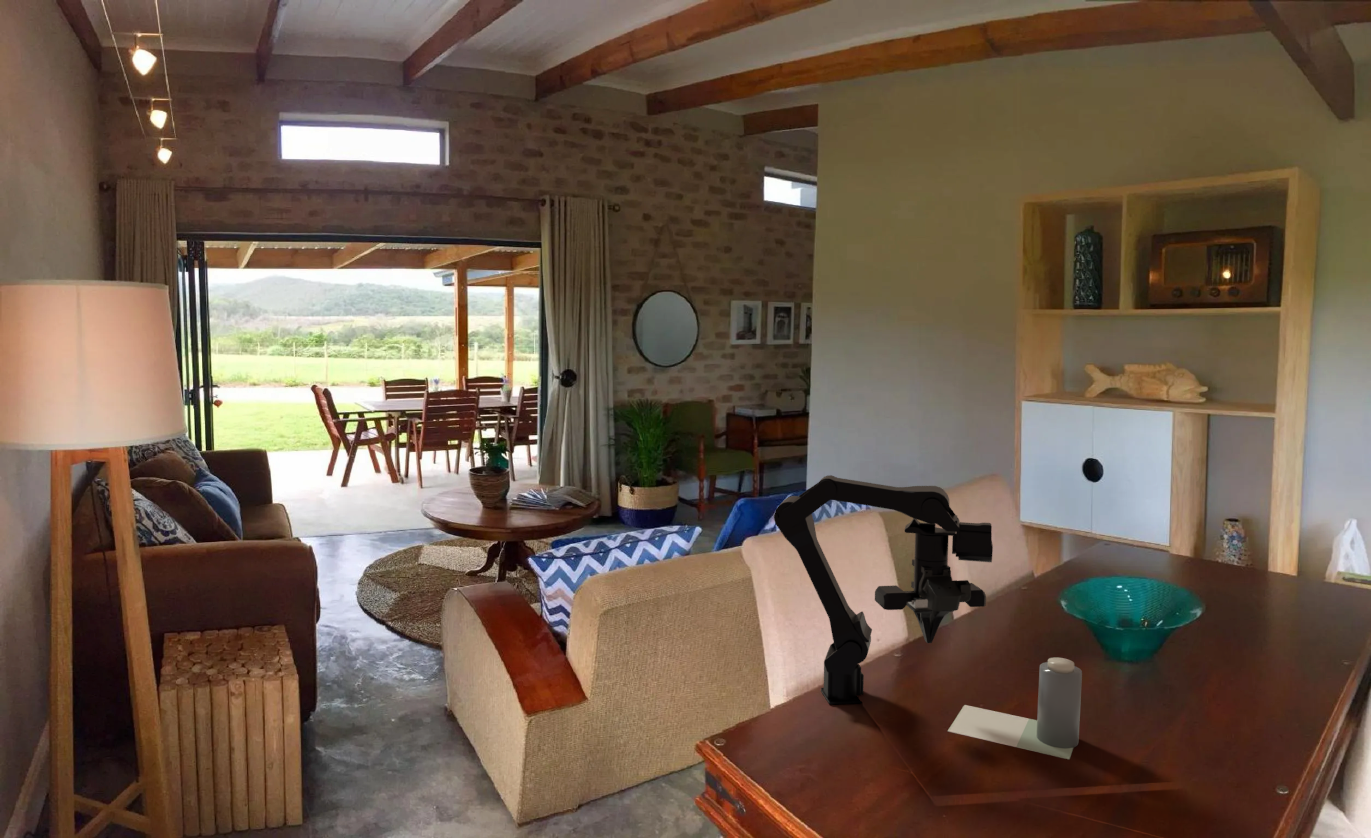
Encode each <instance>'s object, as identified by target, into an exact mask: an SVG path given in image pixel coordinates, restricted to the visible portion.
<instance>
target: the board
mask: <svg viewBox="0 0 1371 838" xmlns="http://www.w3.org/2000/svg"><path fill="white" fill-rule="evenodd" d="M947 732H949V733H953V734H956V735H957V734H958V735H960V736H961V735H962V736H966V737H971V738H973V739H980V740H984V741H986V742H987V741H988V742H992V743H997V744H1001V745H1006V746H1009V747H1014V748H1018V749H1023V750H1027V751H1032V752H1036V753H1040V754H1043V755H1048V756H1053V757H1056V758H1061V759H1065V760H1066V759H1067V760H1070V759H1071V756H1072V753H1073V750H1074V747H1073V748H1057V747H1052V746H1049V745H1046V744H1044V743H1042V742H1041V741H1039V740H1038V738H1037V719H1033V718H1027V717H1023V716H1018V715H1014V714H1013V715H1012V714H1009V713H1005V712H1000V711H996V710H995V711H994V710H990V709H986V708H981V707H977V706H971V705H967V704H964V705H963V706H962V708H961V710H960V711H959V712H958V714H957V716H956V717H955V719H954V721H953V722H952V724H951V725H950V727H949V728H948V730H947Z"/></svg>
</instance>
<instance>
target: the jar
mask: <svg viewBox="0 0 1371 838" xmlns="http://www.w3.org/2000/svg"><path fill="white" fill-rule="evenodd" d="M1038 675H1039V676H1038V694H1037V695H1038V697H1037V718H1036V720H1037V738H1038V740H1039V741H1041V742H1042V743H1044V744H1046V745H1049V746H1052V747H1057V748H1073V749H1074V748H1077V746H1078V745H1079V742H1080V741H1079V739H1080V722H1081V721H1080V719H1081V718H1080V717H1081V702H1082V701H1081V700H1082V698H1081V697H1082V684H1083V683H1082V682H1083V680H1082V679H1083V671H1082V669H1081V668H1079V667H1077V666H1075V662H1074V661H1072V660H1070V659H1067V658H1065V657H1064V658H1063V657H1049V658H1048V659H1047V661H1046V662H1042V663H1041V664H1039V674H1038Z"/></svg>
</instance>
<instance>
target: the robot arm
mask: <svg viewBox="0 0 1371 838" xmlns="http://www.w3.org/2000/svg"><path fill="white" fill-rule="evenodd" d="M831 500H832V501H837V502H845V503H850V504H856V505H861V506H868V507H874V508H878V509H879V508H880V509H886V510H893V511H897V512H899V513H901V514H902V515H905V516H908V517H910V518H912V520H910V522H909V523H907V524H906V525H905V526H904V529H903V530H904V533H906V534H915V535H914V558H912V559H911V566H912V567H913V581H911V587H910V588H912V589H913V590H902V589H901V588H900V587H899V586H898V585H878V586H877V588H876V589H875V591H874V601H875V602H876V603H877V604H878V605H879V606H880V607H881V608H882V609H883V610H886V611H899V610H903V609H904V608H906V607H908V608H909V609H910V610H911V611H912V612H913V614H914V615H915V617H916V620H917V622H918V625H919V627H920V631H921V633H922V636H923V638H924V641H925V642H926V643H927V644H932V643H933V641H934V638H935V636H936V634H937V631H938V629H939V626H940V624H941V622H942V621H943V619H944V617H945V616H947V614H949V613H953V612H956V611H958V610H959V608H960V607H959V606H960V604H961V603H965V604H966V605H967V606H968V607H969V608H978V607H979V608H981V607H982V608H983V607H985V606H986V604H987V595H986V593H985V591H984V590H983V589H982V588H980V587H978V586H977V585H976V584H974V583H972V582H970V580H968V579H963V580H953V577H952V571H951V566H949V565H948V563H949V562H948V561H949V536H950V537H952V538H951V539H952V543H951V547H952V548H951V554H952V555H955V557H957V558H958V561H966V562H979V563H980V562H981V563H982V562H983V563H992V562H993V551H994V550H993V549H994V548H993V547H994V546H993V540H992V527H993V526H992V523H990V522H980V523H979V522H976V523H975V522H962V521H960V519H959V517H958V515H957V514H956V513H955V512H954V510H953V509H952V507H951V505H950V498H949V495H948V493H947V492H946V490H944V488H942V487H940V486H936V485H913V486H911V485H910V486H902V487H901V486H899V487H897V486H892V485H886V484H885V485H884V484H879V483H873V482H868V481H860V480H854V479H850V478H849V479H847V478H841V477H837V476H834V475H831V474H830V475H829V474H828V475H826V476H823V477H822V478H821V479H820V480H819V481H818V482H816V483H815V484H814V485H812V486H810V488H808V489H807V490H805V491H804V492H802V493H801V494H800V495H791V496H788V497H786V498H785V499H784V500H782V502H781V503H780V504H779V505H778V506H777V508H776V509H775V511H774V514H773V520H774V523H775V525H776V527H777V528H778V529H779V531H780V533H781V534H782V535H783V537H784V538H785V540H786V541H787V542H788V543H789V544H790V545H791V546H792V547H793V548H794V549H795V550H796V552H797V554H798V557H799V558H800V560H801V562H802V564H803V566H804V568H805V571H806V573H807V576H809V579H810V581H811V584H812V585H813V587H814V590H815V591H816V594H817V596H818V598H819V600H820V602H821V605H822V606H823V608H824V610H825V614H826V615H827V617H828V620H829V624H830V630H831V637H832V640H833V642H832V643H831V644H830V645H829V648H828V650H827V653H826V655H825V658H824V661H823V687H821V688H820V692H821V693H822V695H823V697H824V698H825V699H826V701H827V703H828V704H829V705H846V704H848V705H849V704H862V703H863V702H862V700H861V699H860V698H859V696H862V695H864V680H865V677H864V674H863V672H862V666H861V665H860V664H862V663H863V662H864V661H865V660H866V658H867V657H868V654H869V650H870V647H871V643H872V636H871V635H872V631H873V629H872V628H871V627H870V626H869V624H868V622H867V620H866V617H865V614H864V611H859V613H856V612H854V610H853V609H852V608H851V607H850V605H849V603H848V602H847V599H846V597H845V595H844V593H843V590H842V589H841V587H840V584H839V583H838V581H837V578H836V577H835V575H834V573H833V570H832V568H831V565H830V564H829V562H828V560H827V558H826V554H825V553H824V551H823V549H822V546H821V545H820V543H819V541H818V537H817V532H816V526H815V521H814V518H813V514H814V513H815V512H816V511H817V510H819V509H820V508H822V507H823V505H825V504H826V503H828V502H829V501H831ZM920 521H921V522H920ZM936 525H937V526H938V527H937V526H936Z"/></svg>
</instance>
